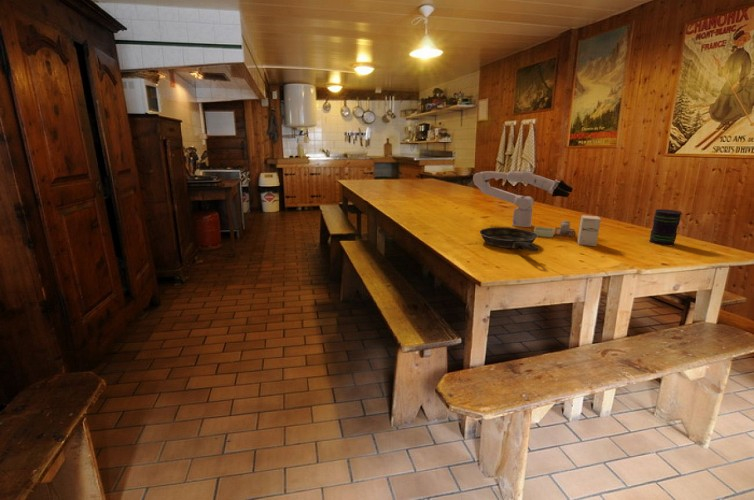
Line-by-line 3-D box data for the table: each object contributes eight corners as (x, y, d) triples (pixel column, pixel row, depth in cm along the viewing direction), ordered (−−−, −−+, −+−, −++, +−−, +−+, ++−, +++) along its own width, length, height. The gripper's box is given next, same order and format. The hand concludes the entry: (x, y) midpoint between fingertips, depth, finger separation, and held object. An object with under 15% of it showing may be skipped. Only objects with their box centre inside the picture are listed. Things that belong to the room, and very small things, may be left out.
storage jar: (676, 242, 186) (683, 211, 182) (672, 246, 180) (680, 214, 175) (651, 239, 193) (657, 208, 189) (646, 242, 186) (653, 211, 182)
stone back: (560, 230, 206) (561, 221, 205) (560, 228, 210) (561, 220, 209) (568, 231, 205) (569, 222, 204) (568, 229, 208) (569, 221, 207)
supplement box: (578, 245, 181) (582, 217, 178) (577, 241, 188) (581, 214, 184) (596, 246, 179) (601, 219, 175) (594, 242, 185) (599, 216, 182)
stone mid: (560, 232, 203) (561, 223, 201) (560, 230, 206) (561, 222, 205) (568, 233, 201) (570, 224, 200) (568, 231, 204) (569, 222, 203)
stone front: (559, 234, 199) (561, 225, 197) (560, 232, 202) (561, 223, 201) (568, 235, 197) (570, 226, 196) (568, 233, 201) (570, 224, 199)
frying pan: (473, 236, 195) (474, 223, 193) (524, 237, 195) (526, 223, 193) (498, 265, 153) (500, 248, 151) (564, 265, 153) (566, 248, 151)
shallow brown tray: (554, 235, 198) (554, 233, 198) (555, 228, 212) (555, 227, 212) (574, 237, 195) (574, 235, 195) (573, 230, 209) (574, 228, 209)
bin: (533, 235, 197) (533, 230, 196) (534, 231, 205) (535, 226, 204) (552, 237, 193) (553, 232, 193) (553, 233, 201) (554, 228, 200)
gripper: (543, 180, 201) (570, 190, 195) (550, 172, 211) (576, 181, 205) (538, 193, 205) (564, 203, 199) (545, 184, 215) (571, 193, 210)
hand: (570, 192), depth 203 cm, fingers open, 7 cm apart
